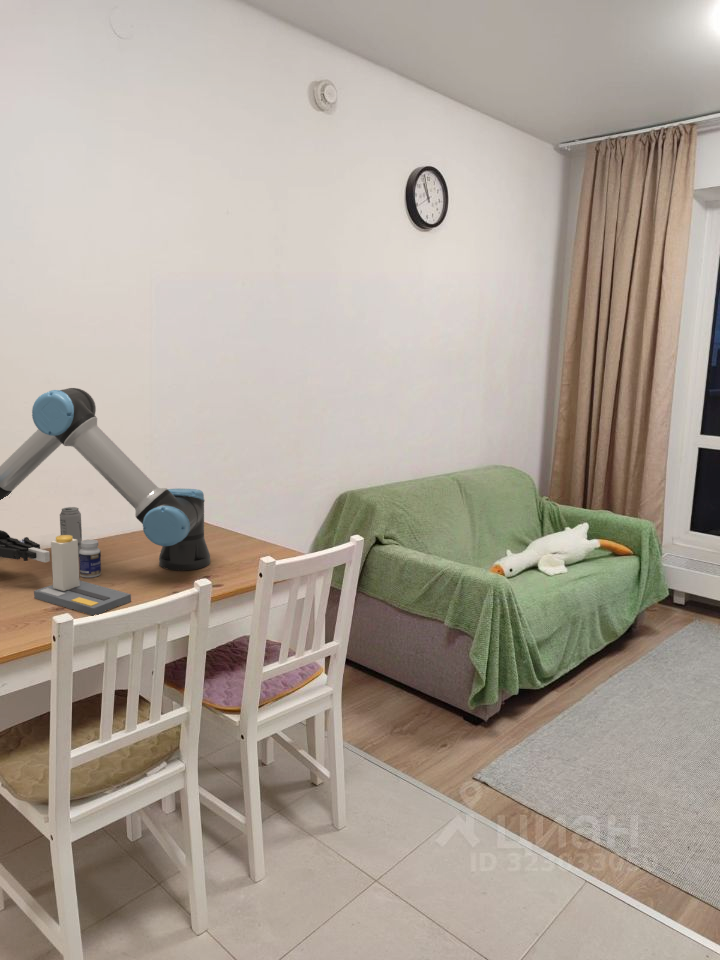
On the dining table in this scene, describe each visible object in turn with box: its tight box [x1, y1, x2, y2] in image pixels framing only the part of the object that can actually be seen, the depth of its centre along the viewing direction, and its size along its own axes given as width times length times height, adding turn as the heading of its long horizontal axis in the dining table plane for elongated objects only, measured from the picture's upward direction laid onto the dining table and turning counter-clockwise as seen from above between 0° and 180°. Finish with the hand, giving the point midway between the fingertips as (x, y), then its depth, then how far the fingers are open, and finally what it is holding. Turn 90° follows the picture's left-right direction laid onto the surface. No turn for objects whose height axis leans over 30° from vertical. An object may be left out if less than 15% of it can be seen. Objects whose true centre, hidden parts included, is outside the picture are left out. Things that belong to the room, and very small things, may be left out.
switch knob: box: [50, 534, 80, 591], centre depth 188 cm, size 4×5×14 cm
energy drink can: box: [59, 506, 83, 558], centre depth 221 cm, size 6×6×15 cm
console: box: [33, 579, 132, 616], centre depth 187 cm, size 22×12×2 cm, turn 61°
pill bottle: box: [78, 539, 102, 579], centre depth 205 cm, size 6×6×10 cm
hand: (47, 556), depth 191 cm, fingers closed
